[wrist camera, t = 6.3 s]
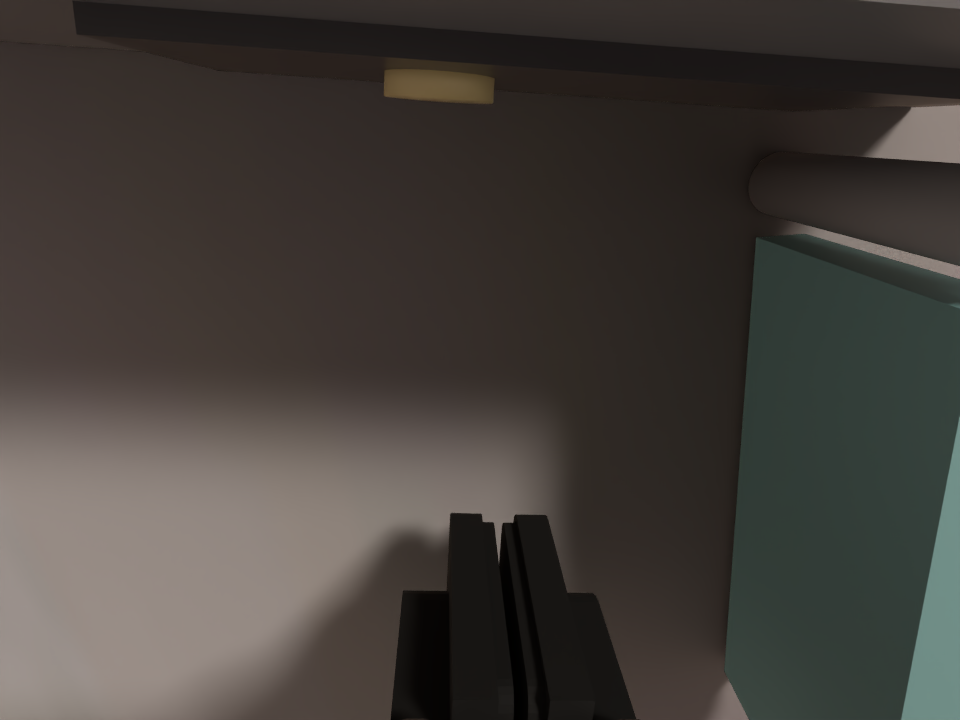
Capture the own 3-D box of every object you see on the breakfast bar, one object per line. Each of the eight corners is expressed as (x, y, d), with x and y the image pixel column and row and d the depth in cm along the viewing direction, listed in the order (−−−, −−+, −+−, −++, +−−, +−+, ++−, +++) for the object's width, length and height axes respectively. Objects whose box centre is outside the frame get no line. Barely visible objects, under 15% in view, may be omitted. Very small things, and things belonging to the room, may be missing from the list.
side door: (751, 154, 11) (995, 173, 6) (843, 147, 11) (1159, 162, 6) (715, 663, 14) (852, 937, 9) (785, 657, 14) (958, 926, 9)
